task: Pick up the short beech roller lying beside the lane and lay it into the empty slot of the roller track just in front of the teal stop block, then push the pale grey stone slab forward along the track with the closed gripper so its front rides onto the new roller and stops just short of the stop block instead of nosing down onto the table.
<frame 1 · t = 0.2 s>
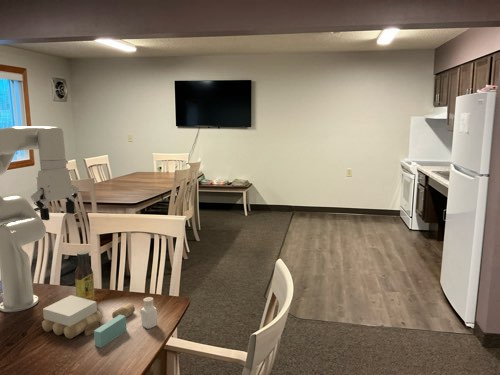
hand: (58, 216, 131), 36 cm above the table, tool pointing down, fingers open, 9 cm apart
stop block: (111, 337, 125), on the table
sauce bottle: (86, 304, 148), on the table
pepper shaker: (149, 326, 132), on the table
roller track: (73, 326, 131), on the table
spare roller: (123, 317, 138), on the table
slab: (71, 314, 131), point 4 cm above the table, touching roller track
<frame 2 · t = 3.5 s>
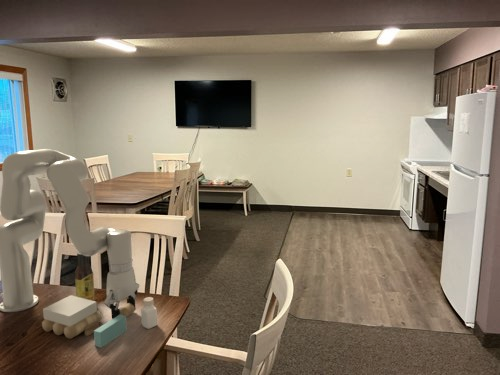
hand: (123, 314, 137), 1 cm above the table, tool pointing down, fingers closed on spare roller, 7 cm apart
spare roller: (124, 317, 138), on the table, touching gripper
everything else where it was.
when the fingers open (2 cm above the table, at t = 8.4 s): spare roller drops 1 cm, on the table.
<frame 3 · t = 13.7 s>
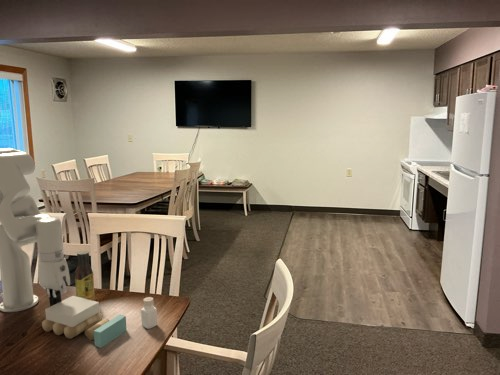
hand: (56, 306, 133), 6 cm above the table, tool pointing down, fingers closed
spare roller: (98, 334, 127), on the table, tilted 5°
slab: (73, 315, 131), point 4 cm above the table, touching gripper
everything else where it was.
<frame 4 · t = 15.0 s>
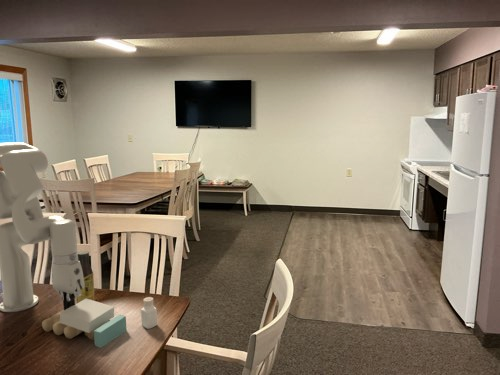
hand: (69, 310, 131), 6 cm above the table, tool pointing down, fingers closed
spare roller: (98, 333, 127), on the table, tilted 20°, touching slab
slab: (87, 319, 128), point 4 cm above the table, touching gripper, roller track, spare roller
everything else where it was.
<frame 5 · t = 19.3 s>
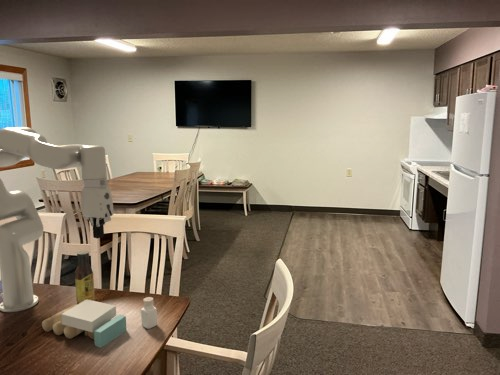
hand: (98, 236, 132), 29 cm above the table, tool pointing down, fingers closed
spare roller: (97, 331, 128), on the table, tilted 41°, touching slab
slab: (89, 319, 128), point 4 cm above the table, touching roller track, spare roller
everything else where it was.
at the end: slab inside the target area (1.2 cm from its centre), point 3.9 cm above the table; slab tilted 2°; slab touching roller track, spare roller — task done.
